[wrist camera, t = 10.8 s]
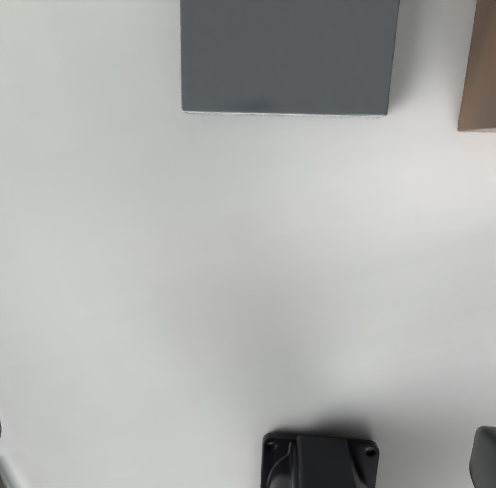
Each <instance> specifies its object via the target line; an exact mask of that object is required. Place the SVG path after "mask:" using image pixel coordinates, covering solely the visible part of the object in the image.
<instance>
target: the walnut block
mask: <svg viewBox="0 0 496 488" xmlns="http://www.w3.org/2000/svg"><path fill="white" fill-rule="evenodd" d="M458 131H459V132H496V0H477V6H476V13H475V19H474V26H473V32H472V39H471V45H470V52H469V58H468V65H467V71H466V78H465V84H464V91H463V97H462V104H461V110H460V117H459V123H458Z"/></svg>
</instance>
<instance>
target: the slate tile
mask: <svg viewBox="0 0 496 488" xmlns="http://www.w3.org/2000/svg"><path fill="white" fill-rule="evenodd" d="M399 3H400V0H180V25H181V102H182V111H184V112H186V113H196V114H236V115H277V116H317V117H358V118H381V117H384V116H387V112H388V103H389V93H390V84H391V75H392V66H393V57H394V48H395V39H396V30H397V21H398V12H399Z"/></svg>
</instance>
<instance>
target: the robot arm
mask: <svg viewBox="0 0 496 488" xmlns="http://www.w3.org/2000/svg"><path fill="white" fill-rule="evenodd" d="M0 437H1V423H0ZM269 442H274V444H269ZM368 449H372V450H371V451H366V450H368ZM378 461H379V449H378V446H377V444H376V442H374V441H372V440H364V439H350V438H335V437H321V436H306V435H292V434H277V433H268V434H266V435H265V436H264V437H263V443H262V465H261V488H375V483H376V476H377V468H378ZM469 469H470V475H471V479H472V482H473V484H474V487H475V488H496V427H492V426H481V427H479V428H478V429H477V430H476V433H475V438H474V443H473V448H472V453H471V458H470V464H469Z"/></svg>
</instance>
